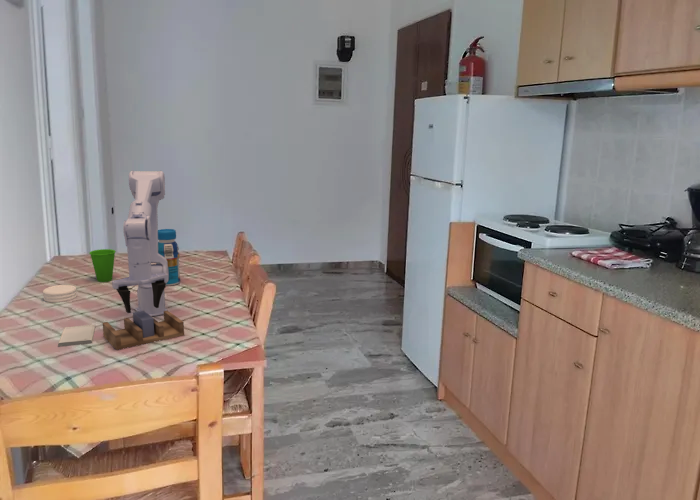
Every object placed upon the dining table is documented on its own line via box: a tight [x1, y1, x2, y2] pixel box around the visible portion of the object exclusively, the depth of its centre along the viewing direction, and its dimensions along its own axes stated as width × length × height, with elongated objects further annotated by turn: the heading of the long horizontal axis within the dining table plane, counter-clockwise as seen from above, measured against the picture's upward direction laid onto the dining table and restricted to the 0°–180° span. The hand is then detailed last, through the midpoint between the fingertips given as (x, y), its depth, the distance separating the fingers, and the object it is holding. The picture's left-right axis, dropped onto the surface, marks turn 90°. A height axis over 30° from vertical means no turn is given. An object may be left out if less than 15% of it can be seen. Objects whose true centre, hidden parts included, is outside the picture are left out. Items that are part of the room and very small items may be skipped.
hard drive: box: [57, 324, 96, 348], centre depth 154 cm, size 2×8×12 cm
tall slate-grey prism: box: [132, 311, 154, 338], centre depth 155 cm, size 8×3×5 cm, turn 39°
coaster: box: [42, 284, 78, 303], centre depth 187 cm, size 10×10×4 cm
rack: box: [102, 309, 185, 351], centre depth 156 cm, size 12×18×4 cm, turn 129°
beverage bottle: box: [155, 228, 181, 287], centre depth 205 cm, size 8×8×20 cm
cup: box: [89, 248, 117, 283], centre depth 208 cm, size 9×9×11 cm
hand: (142, 309), depth 154 cm, fingers open, 7 cm apart
